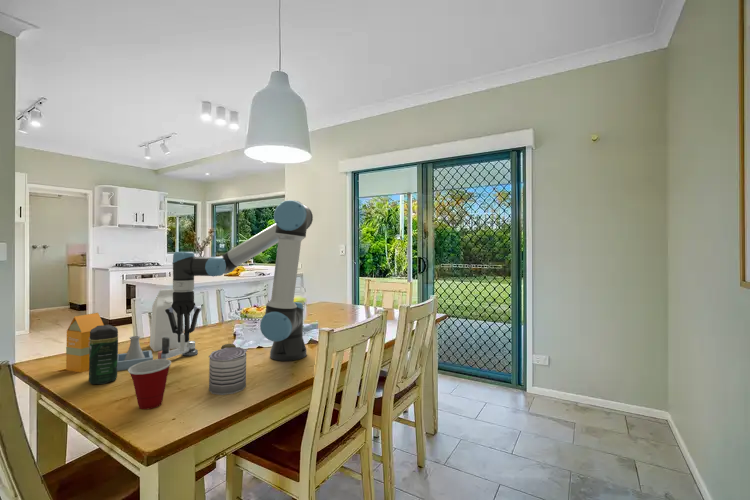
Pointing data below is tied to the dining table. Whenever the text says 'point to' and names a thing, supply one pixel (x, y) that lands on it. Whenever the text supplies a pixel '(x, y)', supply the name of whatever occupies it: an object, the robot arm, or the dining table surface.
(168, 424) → the dining table surface
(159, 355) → the stop post
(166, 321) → the milk
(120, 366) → the tray
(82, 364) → the orange juice
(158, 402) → the plastic cup
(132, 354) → the flask
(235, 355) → the can
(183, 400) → the dining table surface
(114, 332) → the coffee jar
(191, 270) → the robot arm
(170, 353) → the crank
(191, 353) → the crank base
